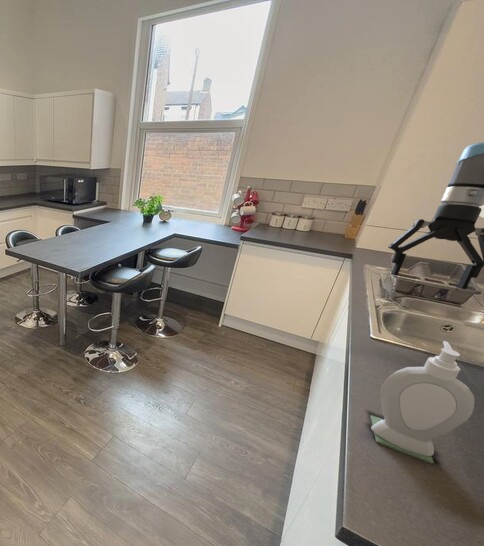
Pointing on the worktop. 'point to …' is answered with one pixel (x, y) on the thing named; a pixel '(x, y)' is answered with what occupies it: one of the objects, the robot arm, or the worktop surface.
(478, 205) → the robot arm
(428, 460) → the mat
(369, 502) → the worktop surface
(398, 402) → the soap bottle
